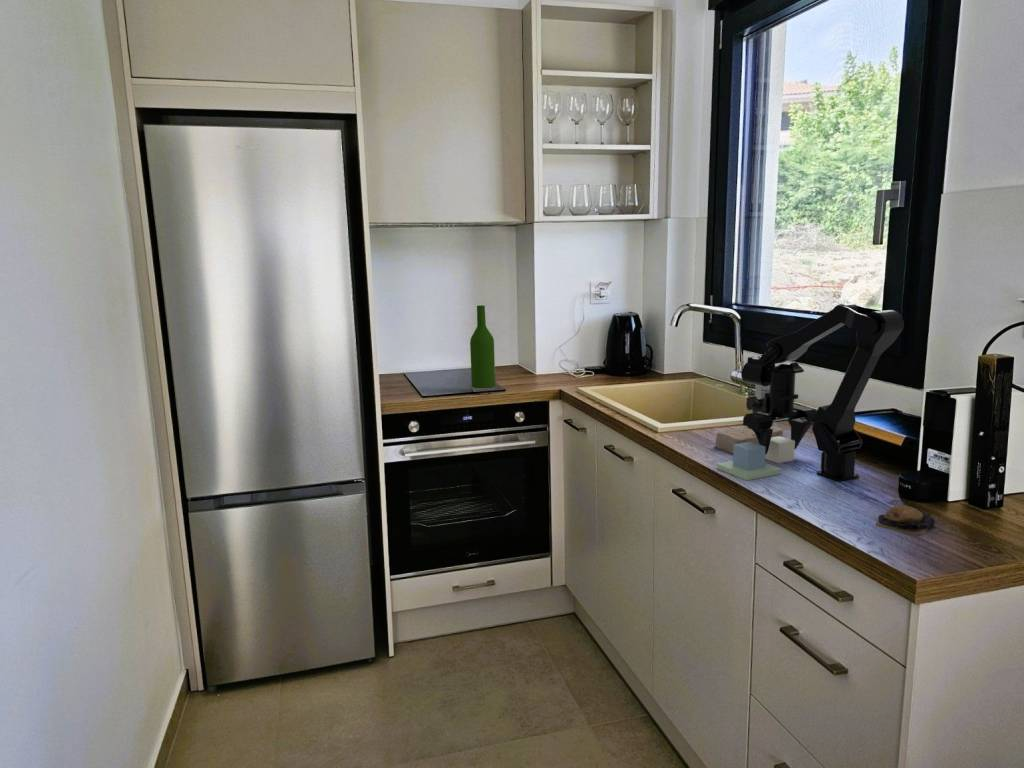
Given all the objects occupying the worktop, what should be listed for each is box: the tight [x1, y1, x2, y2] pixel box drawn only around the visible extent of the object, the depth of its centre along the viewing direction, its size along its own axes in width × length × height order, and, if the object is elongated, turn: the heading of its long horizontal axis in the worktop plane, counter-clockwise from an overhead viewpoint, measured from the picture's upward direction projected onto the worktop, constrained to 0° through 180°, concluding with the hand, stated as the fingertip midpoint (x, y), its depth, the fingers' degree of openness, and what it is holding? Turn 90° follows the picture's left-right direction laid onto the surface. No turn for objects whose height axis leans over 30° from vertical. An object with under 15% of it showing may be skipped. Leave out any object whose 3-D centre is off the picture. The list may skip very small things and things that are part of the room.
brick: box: [715, 426, 784, 454], centre depth 185 cm, size 17×8×5 cm, turn 117°
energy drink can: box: [754, 385, 778, 427], centre depth 199 cm, size 6×6×15 cm
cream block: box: [765, 436, 796, 464], centre depth 173 cm, size 5×5×5 cm
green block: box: [716, 460, 782, 481], centre depth 165 cm, size 10×10×1 cm
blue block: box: [732, 442, 766, 471], centre depth 164 cm, size 5×5×5 cm
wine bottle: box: [469, 304, 496, 388], centre depth 262 cm, size 9×9×32 cm
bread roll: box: [875, 504, 935, 536], centre depth 132 cm, size 11×8×4 cm
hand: (779, 451), depth 173 cm, fingers open, 9 cm apart
